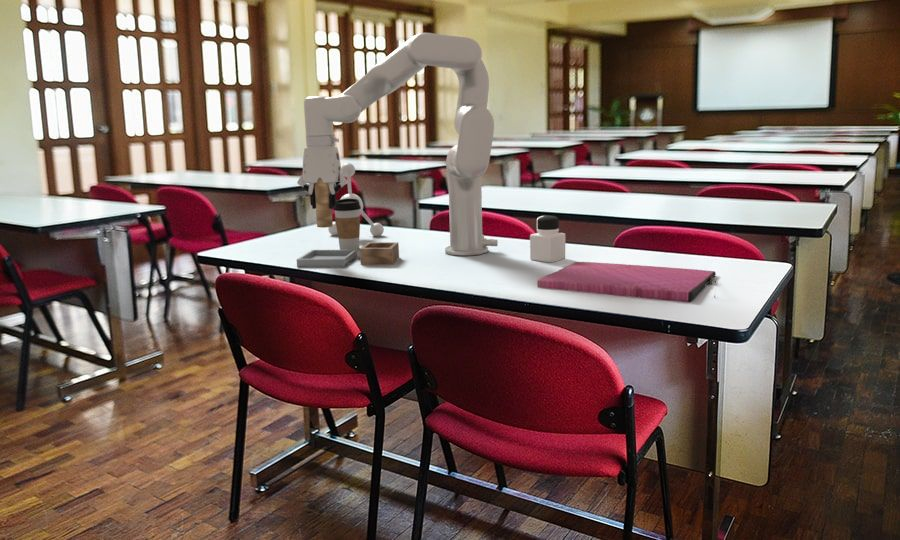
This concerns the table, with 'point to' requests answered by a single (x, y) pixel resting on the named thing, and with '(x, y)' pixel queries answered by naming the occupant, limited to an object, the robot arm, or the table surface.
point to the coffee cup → (348, 223)
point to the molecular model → (375, 228)
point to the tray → (327, 258)
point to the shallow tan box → (379, 253)
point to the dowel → (323, 204)
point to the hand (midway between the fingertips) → (323, 207)
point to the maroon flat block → (630, 280)
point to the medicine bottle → (547, 240)
